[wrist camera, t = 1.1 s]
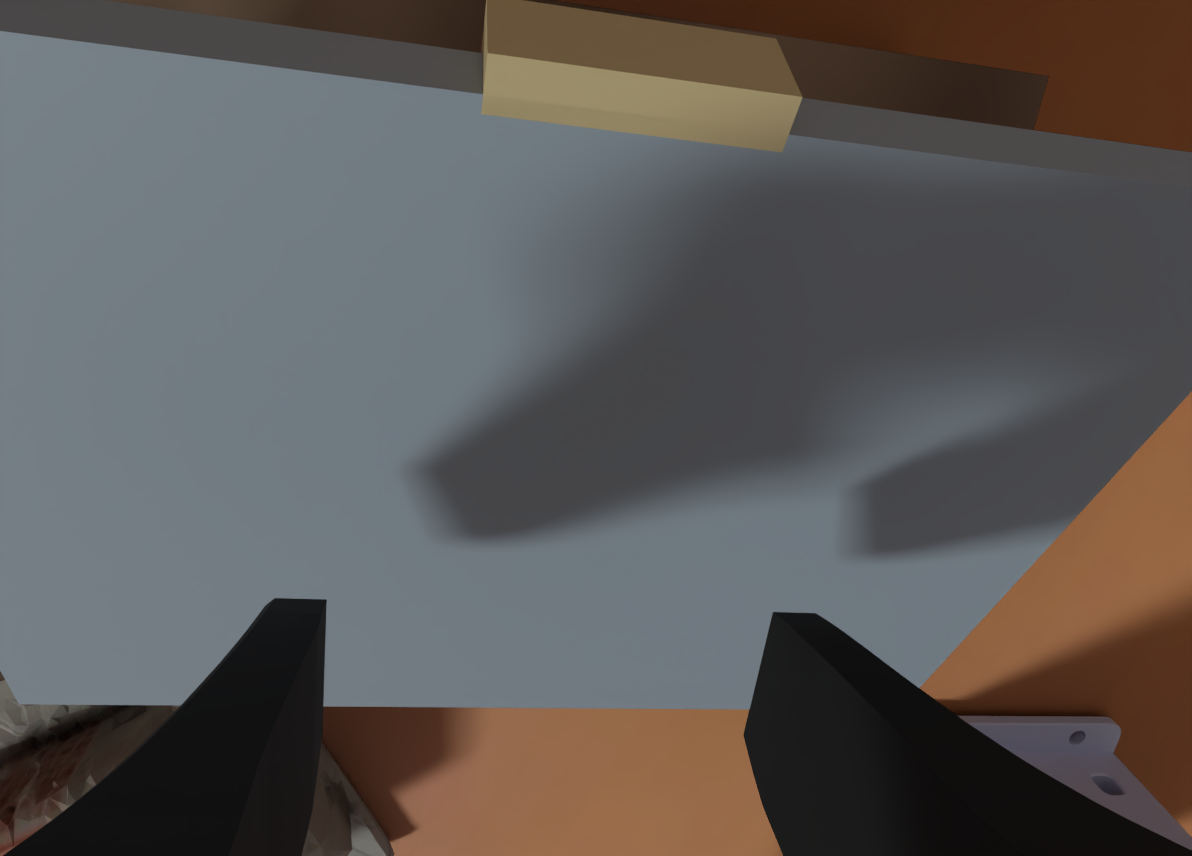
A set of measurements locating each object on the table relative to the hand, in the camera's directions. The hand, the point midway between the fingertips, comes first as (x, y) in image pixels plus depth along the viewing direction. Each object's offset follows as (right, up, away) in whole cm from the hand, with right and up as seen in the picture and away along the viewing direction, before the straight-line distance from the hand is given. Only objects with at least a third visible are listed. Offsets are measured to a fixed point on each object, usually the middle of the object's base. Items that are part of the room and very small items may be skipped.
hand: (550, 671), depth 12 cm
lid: (0, +3, +2) cm, 4 cm away
